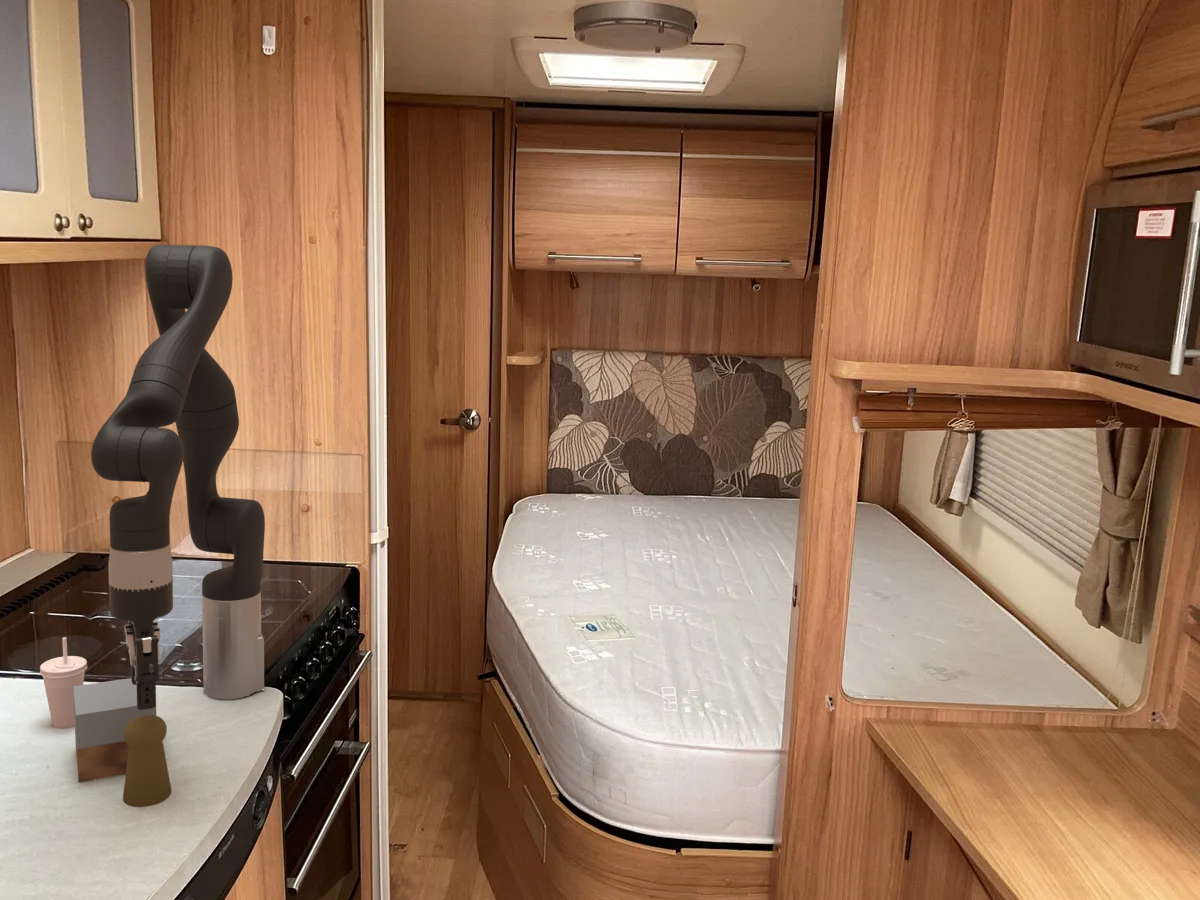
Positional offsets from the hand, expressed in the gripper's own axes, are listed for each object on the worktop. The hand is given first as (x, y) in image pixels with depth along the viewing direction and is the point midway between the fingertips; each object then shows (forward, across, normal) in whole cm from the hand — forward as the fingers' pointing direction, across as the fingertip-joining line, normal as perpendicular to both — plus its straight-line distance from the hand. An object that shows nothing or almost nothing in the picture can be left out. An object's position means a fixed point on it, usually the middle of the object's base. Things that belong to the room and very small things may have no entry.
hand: (143, 695), depth 129 cm
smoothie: (+14, +27, +9) cm, 32 cm away
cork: (+15, 0, 0) cm, 15 cm away
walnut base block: (+14, +12, +3) cm, 19 cm away
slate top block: (+9, +12, +3) cm, 16 cm away
